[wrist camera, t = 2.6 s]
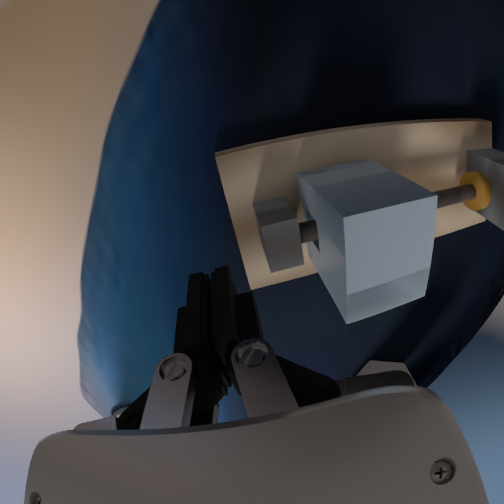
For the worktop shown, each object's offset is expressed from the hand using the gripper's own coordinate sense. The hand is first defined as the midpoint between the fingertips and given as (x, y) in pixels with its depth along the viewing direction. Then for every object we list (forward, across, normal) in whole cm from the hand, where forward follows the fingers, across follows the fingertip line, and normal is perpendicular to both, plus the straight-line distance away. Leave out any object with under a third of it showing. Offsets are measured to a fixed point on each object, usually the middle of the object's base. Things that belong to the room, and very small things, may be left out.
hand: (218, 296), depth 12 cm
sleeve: (+7, -8, +1) cm, 11 cm away
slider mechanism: (+9, -13, +1) cm, 16 cm away
